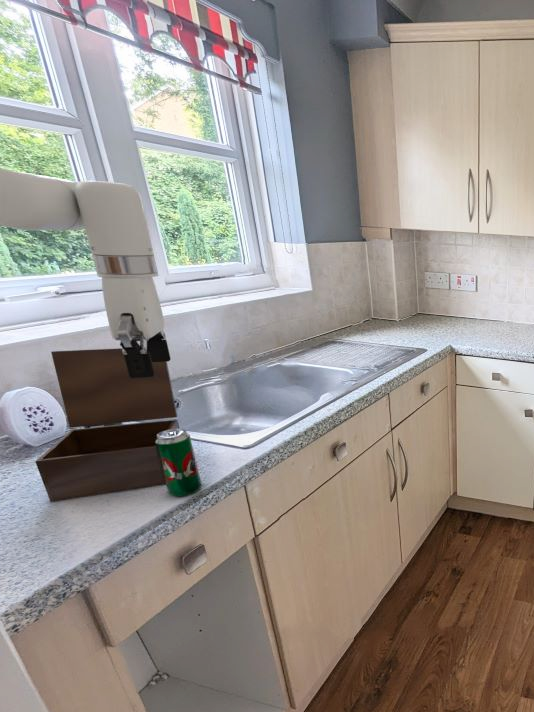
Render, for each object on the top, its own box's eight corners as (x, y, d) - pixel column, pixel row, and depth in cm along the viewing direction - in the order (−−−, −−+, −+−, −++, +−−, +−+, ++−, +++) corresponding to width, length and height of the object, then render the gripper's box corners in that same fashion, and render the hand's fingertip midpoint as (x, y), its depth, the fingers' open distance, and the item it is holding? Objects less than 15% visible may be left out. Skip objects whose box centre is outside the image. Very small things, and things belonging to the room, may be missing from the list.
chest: (169, 484, 87) (159, 446, 85) (50, 501, 80) (34, 461, 78) (185, 452, 99) (177, 418, 97) (83, 465, 92) (71, 429, 90)
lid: (162, 346, 93) (164, 346, 94) (50, 351, 86) (53, 351, 87) (176, 417, 96) (177, 416, 97) (69, 427, 89) (71, 426, 90)
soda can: (200, 481, 89) (187, 425, 85) (203, 492, 85) (189, 434, 81) (168, 489, 86) (152, 431, 82) (169, 501, 82) (153, 441, 78)
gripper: (116, 262, 78) (140, 357, 84) (71, 271, 64) (104, 386, 70) (170, 263, 81) (189, 355, 87) (138, 272, 67) (164, 382, 73)
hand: (151, 368), depth 78 cm, fingers open, 9 cm apart
